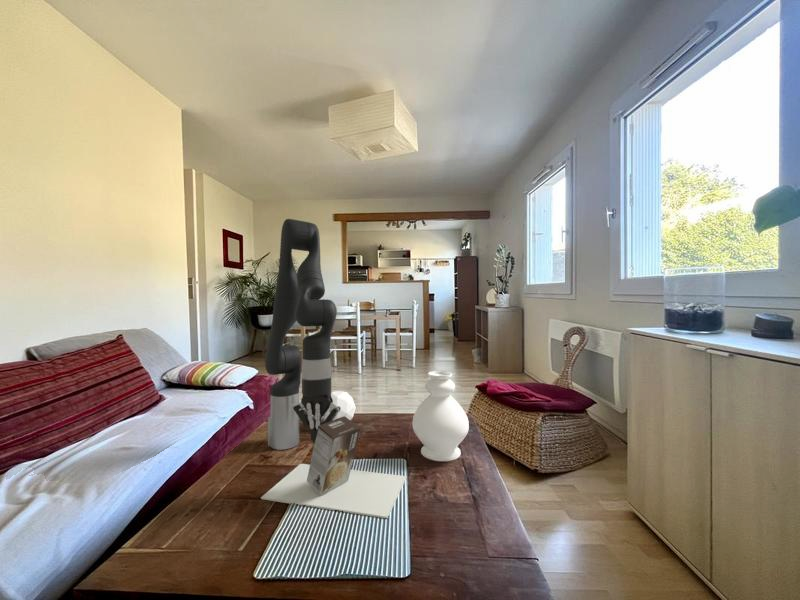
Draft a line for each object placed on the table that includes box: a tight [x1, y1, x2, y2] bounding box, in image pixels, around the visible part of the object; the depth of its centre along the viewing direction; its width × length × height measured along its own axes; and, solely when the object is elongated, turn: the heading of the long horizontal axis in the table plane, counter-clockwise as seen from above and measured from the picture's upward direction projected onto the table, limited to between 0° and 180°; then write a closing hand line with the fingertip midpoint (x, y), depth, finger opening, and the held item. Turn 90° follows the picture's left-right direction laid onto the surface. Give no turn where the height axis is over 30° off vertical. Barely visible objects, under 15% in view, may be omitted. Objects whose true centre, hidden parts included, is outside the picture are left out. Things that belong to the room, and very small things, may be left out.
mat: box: [260, 463, 407, 519], centre depth 86 cm, size 32×18×1 cm, turn 76°
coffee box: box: [307, 416, 361, 496], centre depth 86 cm, size 9×6×16 cm
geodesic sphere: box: [325, 389, 357, 421], centre depth 131 cm, size 15×14×14 cm
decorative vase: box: [411, 370, 470, 462], centre depth 107 cm, size 18×18×25 cm
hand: (317, 442), depth 88 cm, fingers closed
